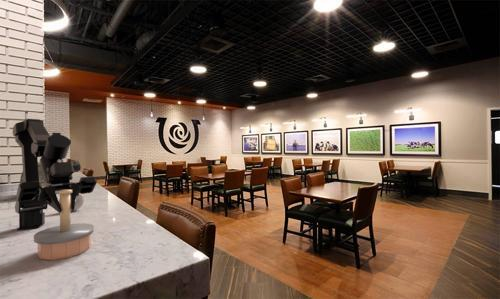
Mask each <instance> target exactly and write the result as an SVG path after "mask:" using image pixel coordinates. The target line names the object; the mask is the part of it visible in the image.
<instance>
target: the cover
mask: <svg viewBox="0 0 500 299" xmlns="http://www.w3.org/2000/svg"><path fill="white" fill-rule="evenodd" d="M70 193H72V190H71V189H66V190H59V191H58V193H57V194H58V195H59V199H60V206H61V213H59V225H57V226H52V227H48V228H46V229H42V230H40V231H38V232H36V233H35V234H34V235H33V242H34V243H36V244H37V245H38V244H57V243H64V242H69V241H74V240H78V239H81V238H84V237H86V236H88V235H90V234H94V230H95V228H94V225H93V224H91V223H83V222H82V223H81V222H79V223H78V222H77V223H72V222H71V221H72V220H71V219H72V218H71V212H72V211H71V201H70Z"/></svg>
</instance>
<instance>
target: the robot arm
mask: <svg viewBox="0 0 500 299" xmlns="http://www.w3.org/2000/svg"><path fill="white" fill-rule="evenodd" d="M12 136H13V137H14V140H15V143H17V145H19V146H20V149H21V160H22V172H23V179H24V182H21V183H20V182H19V183H18V187H17V191H16V202H15V205H14V210H15V213H16V214H18V222H19V223H18V226H19V227H17V228H16V230H17V231H18V230H31V229H38V228H41V227H42V226H43V225H45V223H46V217H45V216H46V215H45V212H44V210H48V206H50V207H51V208H53V209H54V210H55V211H57V213H59V214H60V213H61V206H60V203H59V199H58V197H57V193H55V192H57V191H59V190H66V189H71V190H72V193H70V201H71V210H74V208H75V202H76V197H77V196H78V195H79V193H80V194H83V195H84V194H91V193H93V191H94V189H95V187H96V185H97V183H98V181H97V179H96V177H95V176H82V177H80V179H79V181H72V180H73V174H74V173H79V172H80V171H81V168H82V166H81V163H80V162H79V160H71V161H64V159H66V158H67V154H68V152H69V149H70V147H71V143H72V140H71V139H70V138H68V137H67V136H65V135H62V134H61V132H52V133H51V135H50V133H49V132H48V130H47V128H46V127H45V125H44V120H42V119H39V118H24V119H23V121H20V122H16V123H15V124H14V125H13V127H12ZM38 158H39V160H38ZM38 162H40V164H41V169H42V171H43V175H44V182H46V183H42V184H40V183H39V172H38Z"/></svg>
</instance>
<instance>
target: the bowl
mask: <svg viewBox="0 0 500 299" xmlns="http://www.w3.org/2000/svg"><path fill="white" fill-rule="evenodd" d="M91 241H92V239H91V234H90V235H88V236H86V237H84V238H81V239H78V240H74V241H69V242H64V243H57V244H38V243H37V256H38V258H39V259H41V260H42V261H57V260H62V259H68V258H72V257H75V256H78V255H82V253H85V252H87V251H89V249H90V248H91V244H92V243H91Z"/></svg>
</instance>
